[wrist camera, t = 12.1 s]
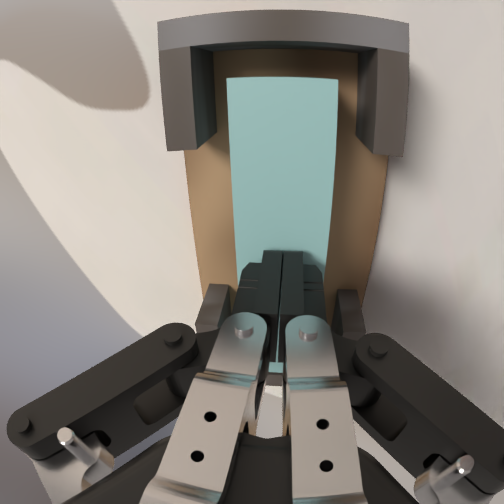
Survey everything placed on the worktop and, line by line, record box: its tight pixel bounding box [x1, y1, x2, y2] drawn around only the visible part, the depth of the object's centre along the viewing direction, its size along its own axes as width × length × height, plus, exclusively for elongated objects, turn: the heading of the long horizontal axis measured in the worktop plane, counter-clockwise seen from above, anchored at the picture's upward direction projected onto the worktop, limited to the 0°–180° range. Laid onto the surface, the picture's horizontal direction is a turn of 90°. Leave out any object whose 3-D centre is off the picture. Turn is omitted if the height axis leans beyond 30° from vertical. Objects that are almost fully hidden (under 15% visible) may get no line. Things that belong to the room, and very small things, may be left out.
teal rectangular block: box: [227, 76, 338, 373], centre depth 14 cm, size 4×14×4 cm, turn 2°
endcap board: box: [157, 10, 409, 386], centre depth 15 cm, size 10×20×4 cm, turn 2°
